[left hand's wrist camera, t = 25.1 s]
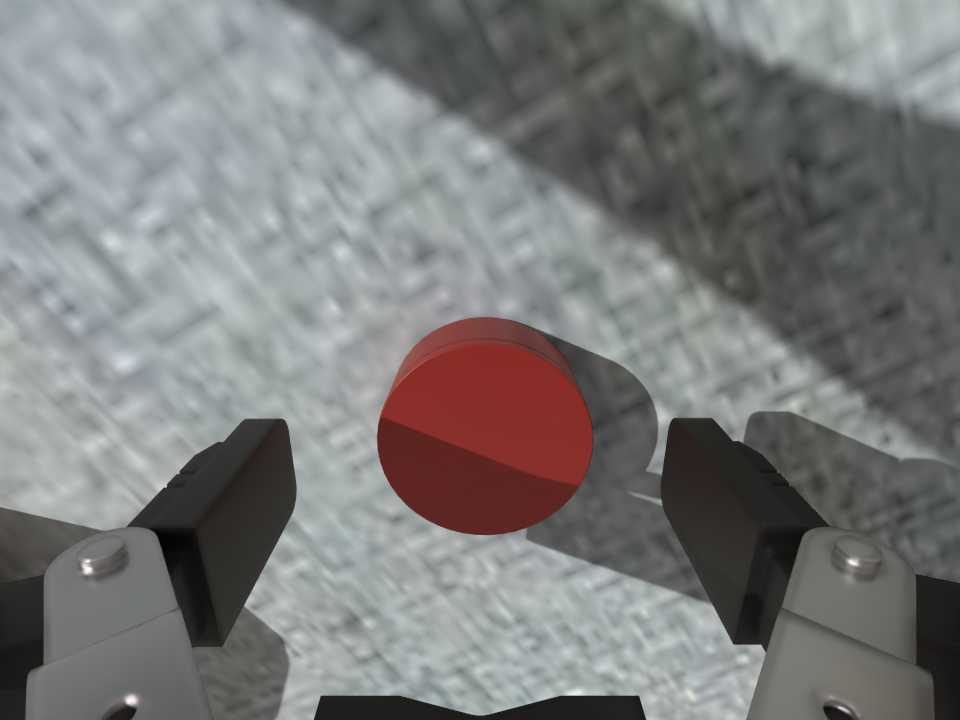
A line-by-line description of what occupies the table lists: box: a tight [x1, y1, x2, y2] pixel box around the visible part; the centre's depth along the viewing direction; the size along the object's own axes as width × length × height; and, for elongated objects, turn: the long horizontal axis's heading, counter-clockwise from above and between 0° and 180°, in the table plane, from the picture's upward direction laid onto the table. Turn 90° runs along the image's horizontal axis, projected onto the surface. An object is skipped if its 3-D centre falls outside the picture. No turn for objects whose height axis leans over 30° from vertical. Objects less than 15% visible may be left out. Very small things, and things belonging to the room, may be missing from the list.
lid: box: [377, 317, 593, 535], centre depth 14 cm, size 5×5×2 cm
